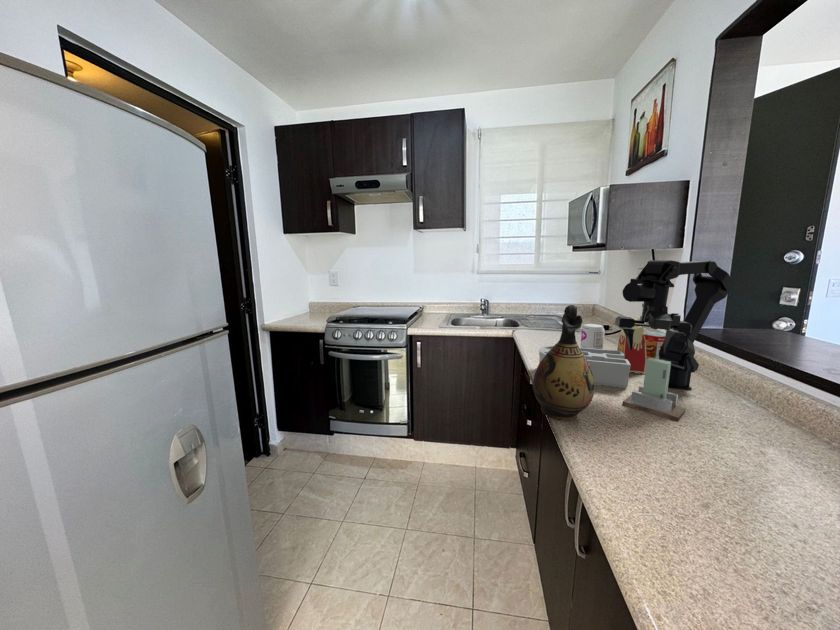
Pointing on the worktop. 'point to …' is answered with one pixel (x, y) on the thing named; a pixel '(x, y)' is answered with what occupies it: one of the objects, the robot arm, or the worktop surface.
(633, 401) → the slotted panel holder
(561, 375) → the ceramic jug
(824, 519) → the worktop surface
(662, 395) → the door panel
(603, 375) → the gray compartment organizer
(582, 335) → the supplement can
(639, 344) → the milk carton
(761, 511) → the worktop surface
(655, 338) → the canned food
